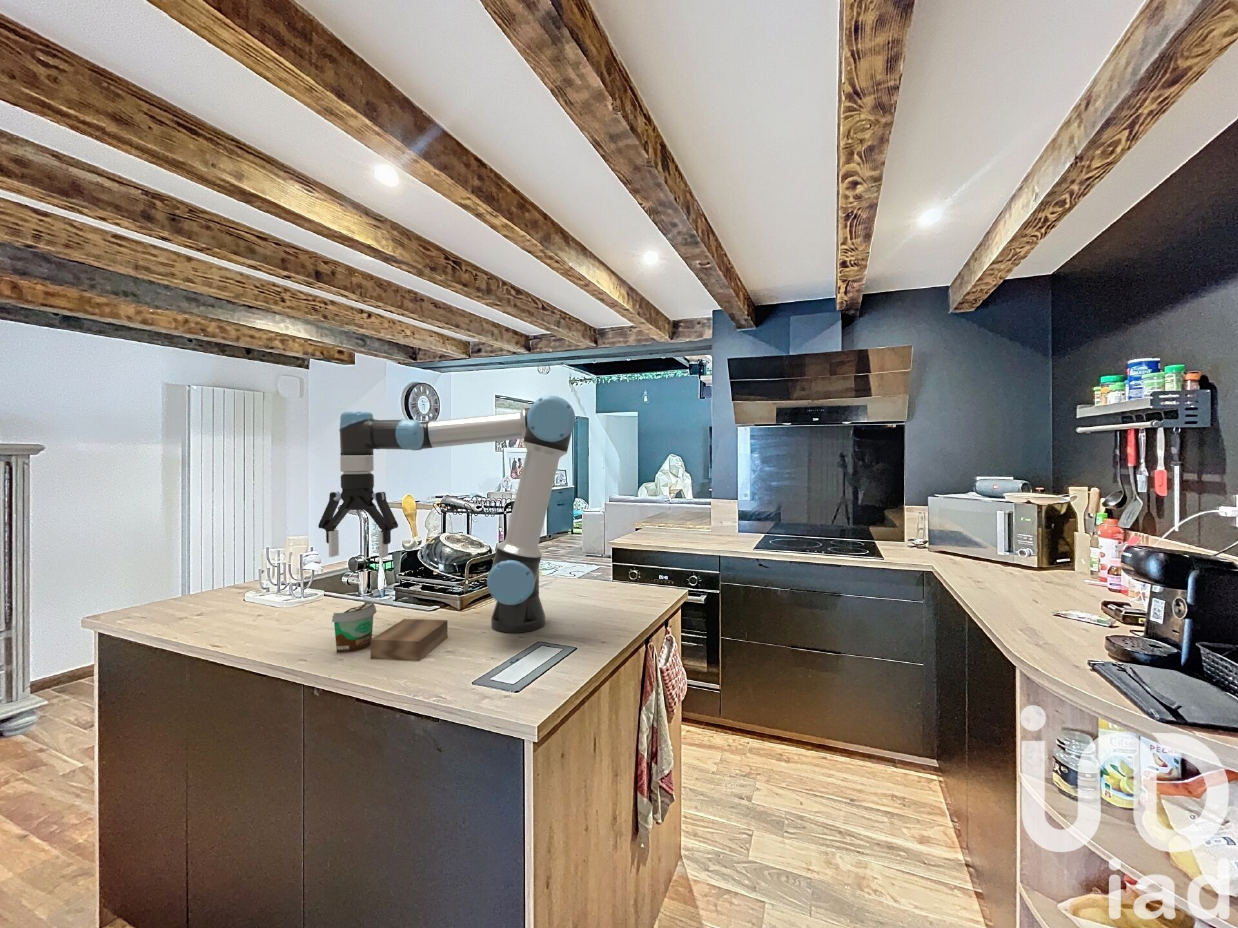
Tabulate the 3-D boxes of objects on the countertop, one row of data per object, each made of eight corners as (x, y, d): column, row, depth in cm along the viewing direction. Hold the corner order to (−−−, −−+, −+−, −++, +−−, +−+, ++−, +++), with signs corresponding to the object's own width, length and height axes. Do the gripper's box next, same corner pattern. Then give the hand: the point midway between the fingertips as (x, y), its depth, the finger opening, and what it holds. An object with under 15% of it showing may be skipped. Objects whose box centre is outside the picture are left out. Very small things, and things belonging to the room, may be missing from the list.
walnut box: (447, 638, 140) (447, 620, 140) (419, 662, 124) (418, 641, 124) (404, 637, 141) (404, 618, 141) (370, 660, 125) (370, 639, 125)
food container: (354, 656, 126) (354, 615, 126) (332, 654, 128) (331, 613, 127) (387, 639, 138) (386, 601, 138) (366, 637, 140) (366, 599, 139)
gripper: (411, 472, 135) (412, 554, 135) (322, 472, 138) (323, 552, 139) (395, 473, 128) (396, 560, 128) (301, 473, 131) (302, 558, 131)
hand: (358, 556), depth 133 cm, fingers open, 13 cm apart
